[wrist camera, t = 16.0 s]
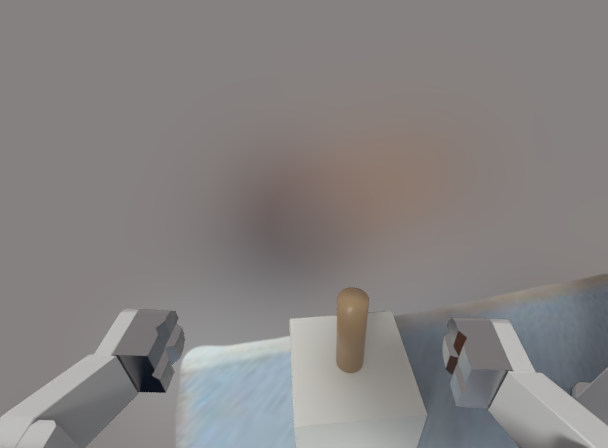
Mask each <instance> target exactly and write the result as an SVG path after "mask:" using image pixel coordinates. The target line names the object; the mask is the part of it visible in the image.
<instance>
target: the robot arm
mask: <svg viewBox="0 0 608 448" xmlns="http://www.w3.org/2000/svg"><path fill="white" fill-rule="evenodd" d="M177 320H178V316H177V313H176V311H168V310H167V311H166V310H148V309H127V308H126V309H124V310H123V311H122V312H121V313H120V314H119V316H118V317H117V319H116V320H115V322H114V324H113V325H112V327H111V328H110V330H109V331H108V333H107V335H106V336H105V338H104V339H103V341H102V343H101V344H100V346H99V347H98V349H97V350H96V352H95V354H94V355H88V356H86V357H85V358H84V359H82V360H81V361H79V362H78V363H77V364H75V365H74V366H72V367H71V368H70V369H68V370H66V371H65V372H64V373H62V374H61V375H59V376H58V377H57V378H55V379H54V380H52V381H51V382H49V383H48V384H47V385H45V386H44V387H42V388H41V389H39V390H38V391H37V392H35V393H34V394H33V395H31V396H30V397H28V398H27V399H25V400H24V401H22V402H21V403H20V404H18V405H17V406H15V407H14V408H13V409H11V410H10V411H8V412H7V413H5V414H4V415H3V416H2V417H1V418H0V448H85V447H86V446H87V445H88V444H89V443H90V442H91V441H92V440H93V439H94V438H95V437H96V436H97V435H98V434H99V433H100V432H101V431H102V430H103V429H104V428H105V427H106V426H107V425H108V424H109V423H110V422H111V421H112V420H113V419H114V418H115V417H116V416H117V415H118V414H119V413H120V412H121V411H122V410H123V409H124V408H125V407H126V406H127V405H128V404H129V403H130V402H131V401H132V400H133V399H134V398H135V397H136V396H137V395H138V392H157V393H166V391H167V389H168V387H169V384H170V381H171V379H172V377H173V374H174V369H173V366H172V365H173V364H174V363H175V362H176V361H177V360H178V359H180V357H181V354H182V351H183V348H184V341H185V338H184V332H183V329H182V327H181V326H179V325H178V324H177ZM447 327H448V330H449V333H448V334H447V335H445V336H444V339H443V343H442V354H443V361H444V364H445V368H446V370H447V371H448V372H449V373H450V374H451V375H452V378H451V381H450V386H451V390H452V393H453V397H454V400H455V404H456V407H467V408H481V409H489V410H488V411H489V412H490V413H491V415H492V416H493V417H494V418H495V419H496V420H497V422H498V423H499V424H500V425H501V426H502V427H503V429H504V430H505V431H506V432H507V433H508V434H509V436H510V437H511V438H512V439H513V440H514V441H515V443H516V444H517V445H518V446H519V447H520V448H608V368H606V369H605V370H604V371H603V372H602V373H601V374H600V375H599V376H598V377H597V378H596V379H595V380H594V381H593V382H592V383H586V382H579V383H577V384H576V385H575V386H574V387H573V388H572V397H571V396H570V395H569V394H568V393H566V392H565V391H564V390H563V389H561V388H560V387H559V386H558V385H556V384H555V383H554V382H553V381H552V380H550V379H549V378H548V377H547V376H545V375H544V374H543V373H539V372H536V371H535V369H534V367H533V365H532V364H531V362H530V360H529V358H528V356H527V354H526V352H525V350H524V348H523V346H522V344H521V342H520V340H519V338H518V336H517V334H516V332H515V330H514V328H513V326H512V324H511V322H510V321H508V320H507V319H486V318H451V319H450V320H449V322H448V325H447Z"/></svg>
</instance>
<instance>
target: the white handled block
mask: <svg viewBox="0 0 608 448" xmlns="http://www.w3.org/2000/svg"><path fill="white" fill-rule="evenodd" d="M368 306H369V297H368V295H367V294H366V293H365V292H364V291H363V290H361V289H358V288H346V289H344V290H342V291H341V292H340V293H339V294H338V297H337V315H334V316H323V317H309V318H297V319H290V339H291V363H292V387H293V411H294V430H295V438H296V446H297V448H417V446H418V443H419V440H420V437H421V434H422V431H423V428H424V424H425V421H426V418H427V412H426V409H425V406H424V403H423V400H422V397H421V394H420V391H419V388H418V386H417V383H416V380H415V377H414V374H413V371H412V368H411V365H410V362H409V359H408V356H407V354H406V351H405V348H404V345H403V342H402V339H401V336H400V333H399V330H398V327H397V325H396V322H395V319H394V316H393V313H392V311H383V312H371V313H368Z"/></svg>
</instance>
